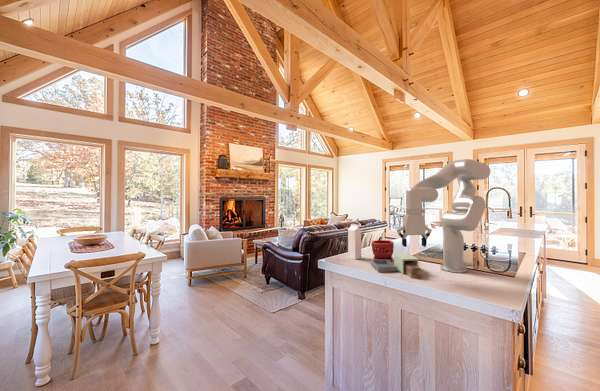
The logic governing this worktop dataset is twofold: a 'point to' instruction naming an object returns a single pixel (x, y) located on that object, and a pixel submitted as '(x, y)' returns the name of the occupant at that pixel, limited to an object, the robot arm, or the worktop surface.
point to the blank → (412, 270)
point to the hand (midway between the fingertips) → (414, 246)
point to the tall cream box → (404, 261)
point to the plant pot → (382, 249)
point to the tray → (383, 266)
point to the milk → (354, 242)
